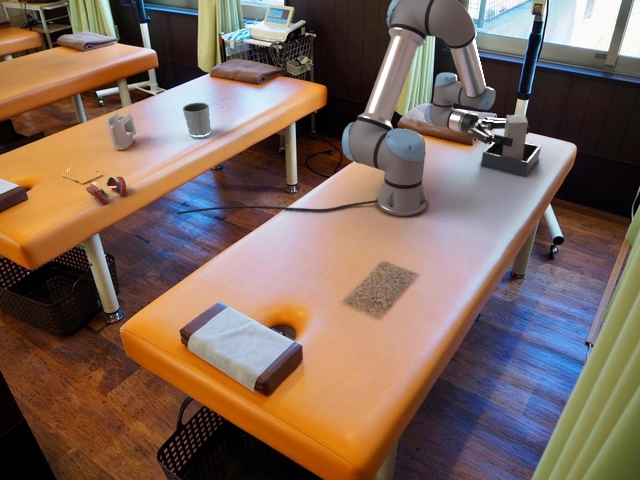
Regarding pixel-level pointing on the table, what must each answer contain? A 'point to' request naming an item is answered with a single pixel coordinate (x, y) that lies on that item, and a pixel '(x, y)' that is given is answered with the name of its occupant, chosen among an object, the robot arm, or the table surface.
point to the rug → (381, 288)
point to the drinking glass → (197, 119)
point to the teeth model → (113, 181)
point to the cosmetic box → (515, 136)
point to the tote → (510, 159)
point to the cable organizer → (121, 130)
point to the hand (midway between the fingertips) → (520, 136)
